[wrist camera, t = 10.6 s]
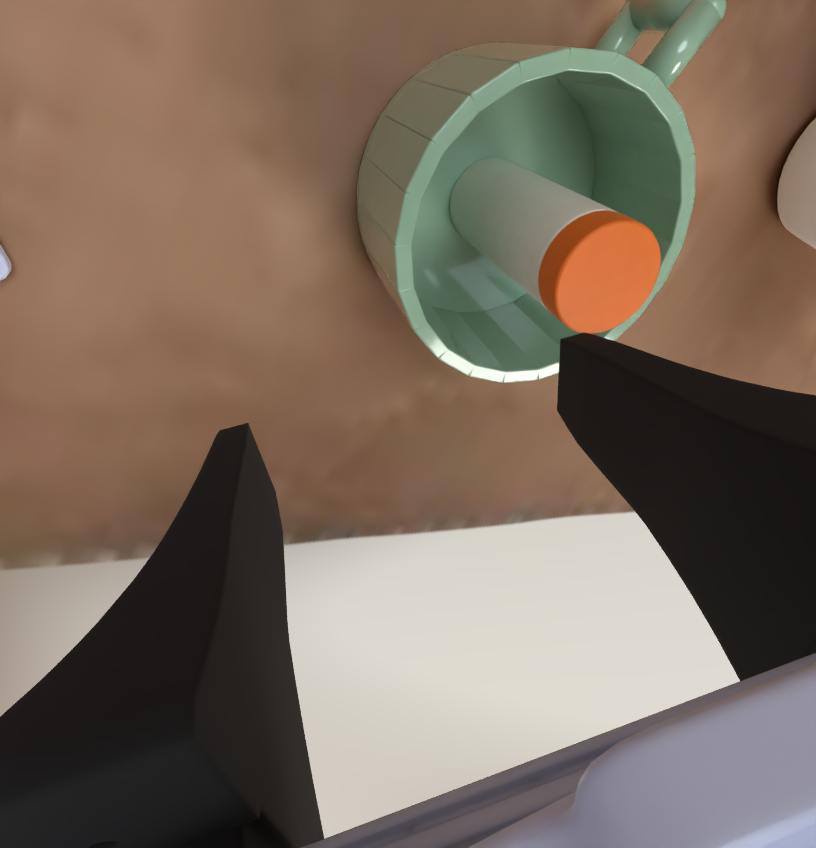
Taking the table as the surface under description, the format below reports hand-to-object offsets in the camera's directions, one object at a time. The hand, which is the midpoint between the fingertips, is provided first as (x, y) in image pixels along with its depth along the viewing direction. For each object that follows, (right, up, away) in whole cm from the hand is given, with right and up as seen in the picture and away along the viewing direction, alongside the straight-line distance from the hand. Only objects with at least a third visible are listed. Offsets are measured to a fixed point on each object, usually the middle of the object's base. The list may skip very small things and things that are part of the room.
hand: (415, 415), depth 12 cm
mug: (+3, +9, +8) cm, 13 cm away
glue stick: (+3, +8, +8) cm, 11 cm away
